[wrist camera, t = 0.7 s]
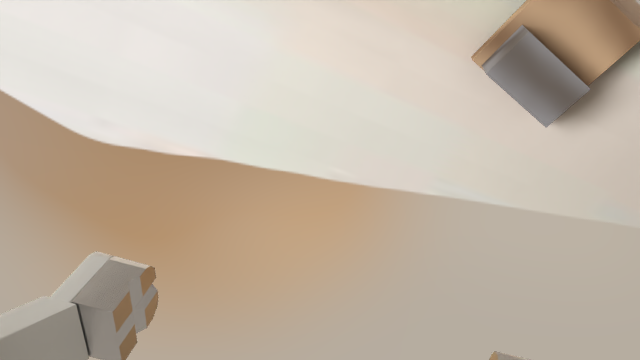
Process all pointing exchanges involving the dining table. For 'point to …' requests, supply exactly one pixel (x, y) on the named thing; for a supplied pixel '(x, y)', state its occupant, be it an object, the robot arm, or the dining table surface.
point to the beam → (555, 52)
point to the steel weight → (630, 9)
